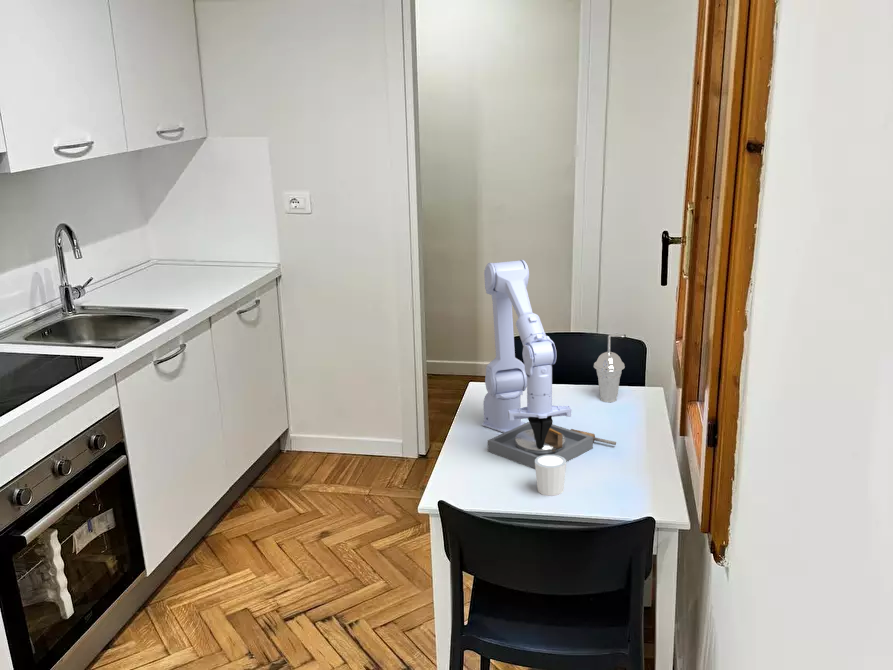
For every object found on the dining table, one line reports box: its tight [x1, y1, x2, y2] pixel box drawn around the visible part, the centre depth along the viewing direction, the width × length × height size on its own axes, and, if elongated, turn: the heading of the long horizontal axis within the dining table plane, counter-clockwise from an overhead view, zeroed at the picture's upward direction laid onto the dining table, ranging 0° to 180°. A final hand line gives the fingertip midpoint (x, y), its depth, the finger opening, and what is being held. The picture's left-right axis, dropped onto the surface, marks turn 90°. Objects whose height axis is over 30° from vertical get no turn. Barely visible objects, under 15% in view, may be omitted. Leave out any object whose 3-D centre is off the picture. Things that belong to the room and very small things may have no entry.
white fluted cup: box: [535, 455, 567, 497], centre depth 180 cm, size 7×7×7 cm
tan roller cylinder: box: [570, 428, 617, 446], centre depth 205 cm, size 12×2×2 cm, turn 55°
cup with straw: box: [593, 333, 626, 403], centre depth 230 cm, size 8×9×20 cm
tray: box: [487, 421, 594, 470], centre depth 201 cm, size 18×18×3 cm
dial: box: [515, 428, 565, 455], centre depth 200 cm, size 14×12×5 cm
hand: (539, 446), depth 195 cm, fingers closed
